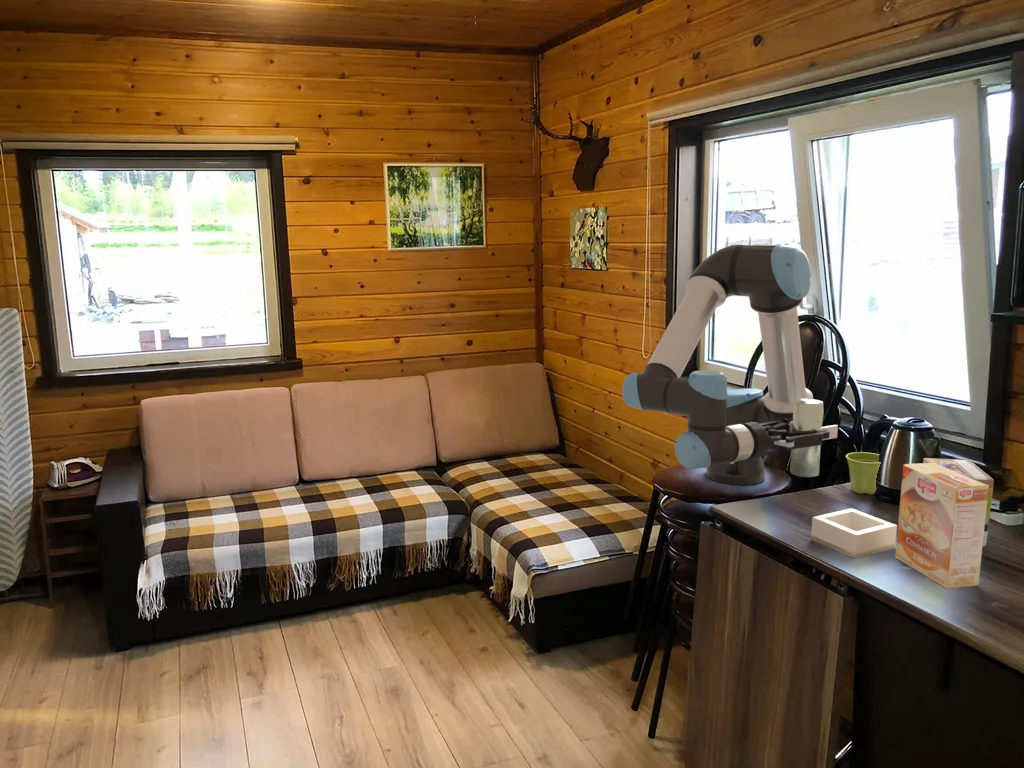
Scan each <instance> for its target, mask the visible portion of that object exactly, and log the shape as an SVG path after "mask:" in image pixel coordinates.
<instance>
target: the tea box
mask: <svg viewBox="0 0 1024 768" xmlns="http://www.w3.org/2000/svg"><path fill="white" fill-rule="evenodd" d="M922 463H935V464H938V465H940V466H942V467H945V468H947V469H950V470H952V471H954V472H957V473H959V474H962V475H964V476H966V477H969V478H971V479H974V480H976V481H978V482H981V483H983V484H986V485H989V488H988V498H987V508H986V517H985V527H984V536H983V545H982V548H984V547H986V545H987V541H988V535H989V534H988V533H989V532H988V531H989V524H990V515H991V508H992V498H993V493H994V483H995V481H994V480H995V479H994V478H992V477H991V476H990V475H989V474H988V473H986V472H985V471H983V469H981V468H980V467H979V466H978V465H976V464H975V463H974V462H972V461H971V460H969V459H968V460H966V459H953V458H952V459H950V458H930V457H924V458H923V461H922Z"/></svg>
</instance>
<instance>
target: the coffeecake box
mask: <svg viewBox="0 0 1024 768" xmlns="http://www.w3.org/2000/svg"><path fill="white" fill-rule="evenodd" d="M901 476H902V477H901V488H900V499H899V509H898V510H899V511H898V513H899V514H898V524H897V532H896V544H895V557H894V558H895V559H896V560H898V561H901V562H902V563H904V564H905V565H907V566H909V567H910V568H912V569H914V570H916V571H917V572H919V573H920V574H921V575H924V577H926V578H928V579H930V580H932V582H935V583H937V584H938V585H940V586H942V587H943V588H944V589H947V590H948V589H949V590H950V589H958V588H965V587H969V588H970V587H976V586H977V587H978V585H979V582H980V573H981V572H980V571H981V564H982V563H981V562H982V553H983V547H982V545H983V536H984V527H985V517H986V508H987V498H988V488H989V485H986V484H983V483H981V482H978V481H976V480H974V479H971V478H969V477H966V476H964V475H962V474H959V473H957V472H954V471H952V470H950V469H947V468H945V467H942V466H940V465H938V464H935V463H923V462H922V463H921V462H920V463H914V462H912V463H905V464H903V465H902V475H901Z"/></svg>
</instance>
